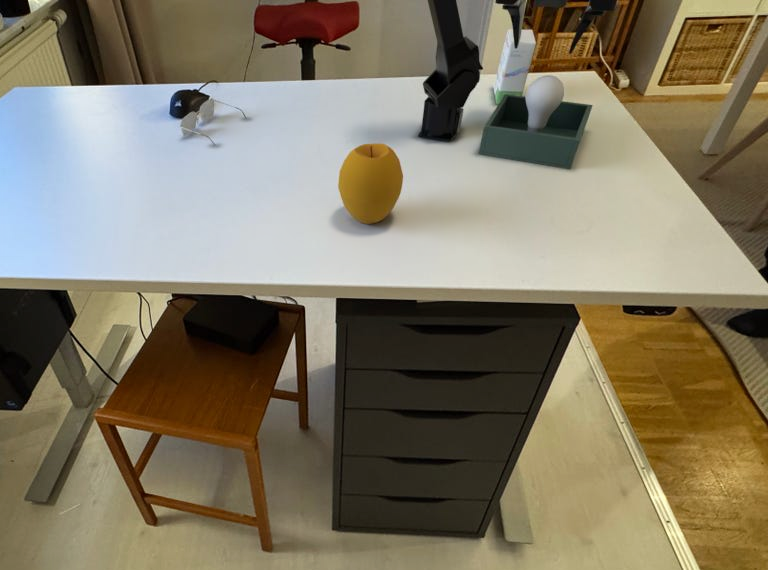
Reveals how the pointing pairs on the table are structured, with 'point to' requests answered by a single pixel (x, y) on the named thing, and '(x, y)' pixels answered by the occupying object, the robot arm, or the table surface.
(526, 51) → the ink box
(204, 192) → the table surface
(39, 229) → the table surface
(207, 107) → the eyeglasses
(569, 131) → the bin
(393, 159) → the apple
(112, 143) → the table surface
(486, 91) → the table surface
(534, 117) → the lightbulb
